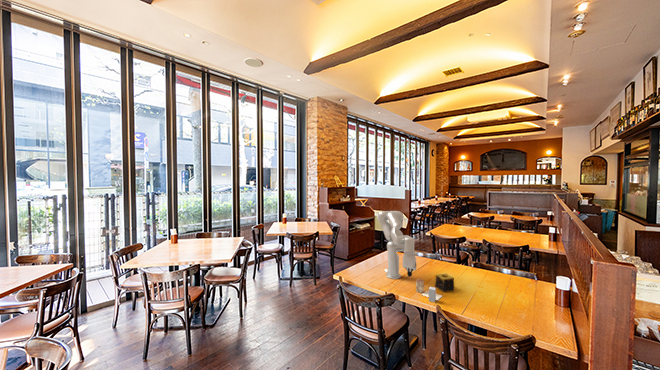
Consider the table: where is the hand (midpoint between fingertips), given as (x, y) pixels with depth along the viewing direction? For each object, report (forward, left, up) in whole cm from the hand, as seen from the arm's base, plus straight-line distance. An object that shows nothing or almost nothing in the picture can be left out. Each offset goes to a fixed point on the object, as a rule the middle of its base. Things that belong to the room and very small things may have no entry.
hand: (409, 276), depth 204 cm
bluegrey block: (+21, -7, -10) cm, 24 cm away
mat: (+18, 0, -10) cm, 20 cm away
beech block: (+8, 0, -10) cm, 13 cm away
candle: (+19, +19, -10) cm, 29 cm away
